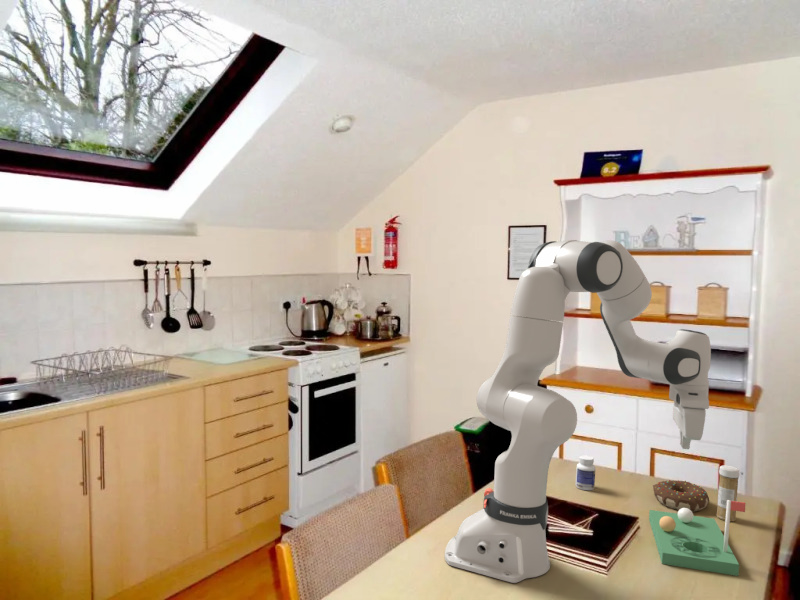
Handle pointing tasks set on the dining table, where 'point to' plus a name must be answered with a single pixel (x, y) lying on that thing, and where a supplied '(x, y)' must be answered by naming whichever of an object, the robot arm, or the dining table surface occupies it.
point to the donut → (681, 495)
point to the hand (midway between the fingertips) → (684, 447)
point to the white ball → (685, 515)
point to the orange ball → (667, 523)
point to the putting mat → (696, 542)
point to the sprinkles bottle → (727, 490)
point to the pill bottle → (585, 473)
